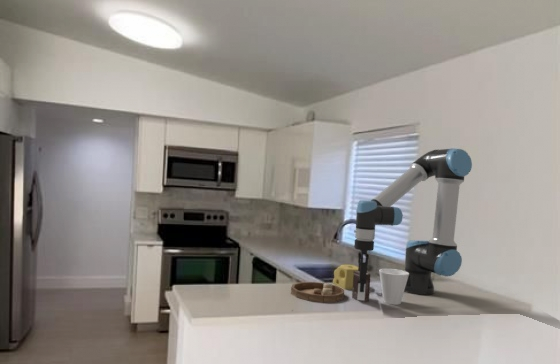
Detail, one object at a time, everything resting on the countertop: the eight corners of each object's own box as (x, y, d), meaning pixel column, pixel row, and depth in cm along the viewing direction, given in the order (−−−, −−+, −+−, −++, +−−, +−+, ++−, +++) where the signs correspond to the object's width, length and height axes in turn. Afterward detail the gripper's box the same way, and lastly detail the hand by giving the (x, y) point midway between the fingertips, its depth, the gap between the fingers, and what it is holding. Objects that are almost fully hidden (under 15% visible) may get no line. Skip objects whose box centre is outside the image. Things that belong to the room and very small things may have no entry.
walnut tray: (343, 293, 182) (343, 285, 182) (343, 307, 161) (344, 298, 161) (294, 288, 185) (294, 280, 185) (288, 301, 164) (289, 292, 164)
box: (350, 300, 171) (353, 270, 171) (360, 300, 173) (362, 270, 173) (359, 305, 166) (362, 274, 166) (369, 304, 168) (371, 273, 168)
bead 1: (331, 292, 178) (332, 283, 178) (331, 294, 174) (332, 285, 174) (323, 291, 178) (323, 283, 178) (322, 293, 175) (323, 285, 175)
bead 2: (331, 297, 170) (332, 288, 170) (331, 299, 166) (332, 290, 166) (322, 296, 170) (323, 287, 170) (322, 298, 167) (322, 289, 167)
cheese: (332, 286, 193) (333, 264, 193) (352, 285, 198) (353, 264, 198) (345, 292, 184) (346, 269, 184) (365, 291, 188) (367, 268, 188)
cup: (388, 307, 166) (390, 275, 166) (371, 298, 177) (373, 268, 177) (413, 305, 170) (415, 274, 170) (394, 297, 181) (396, 268, 181)
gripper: (354, 235, 180) (350, 290, 180) (355, 242, 160) (351, 303, 160) (372, 237, 179) (368, 292, 179) (376, 243, 159) (371, 305, 159)
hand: (360, 297), depth 169 cm, fingers closed on box, 7 cm apart
